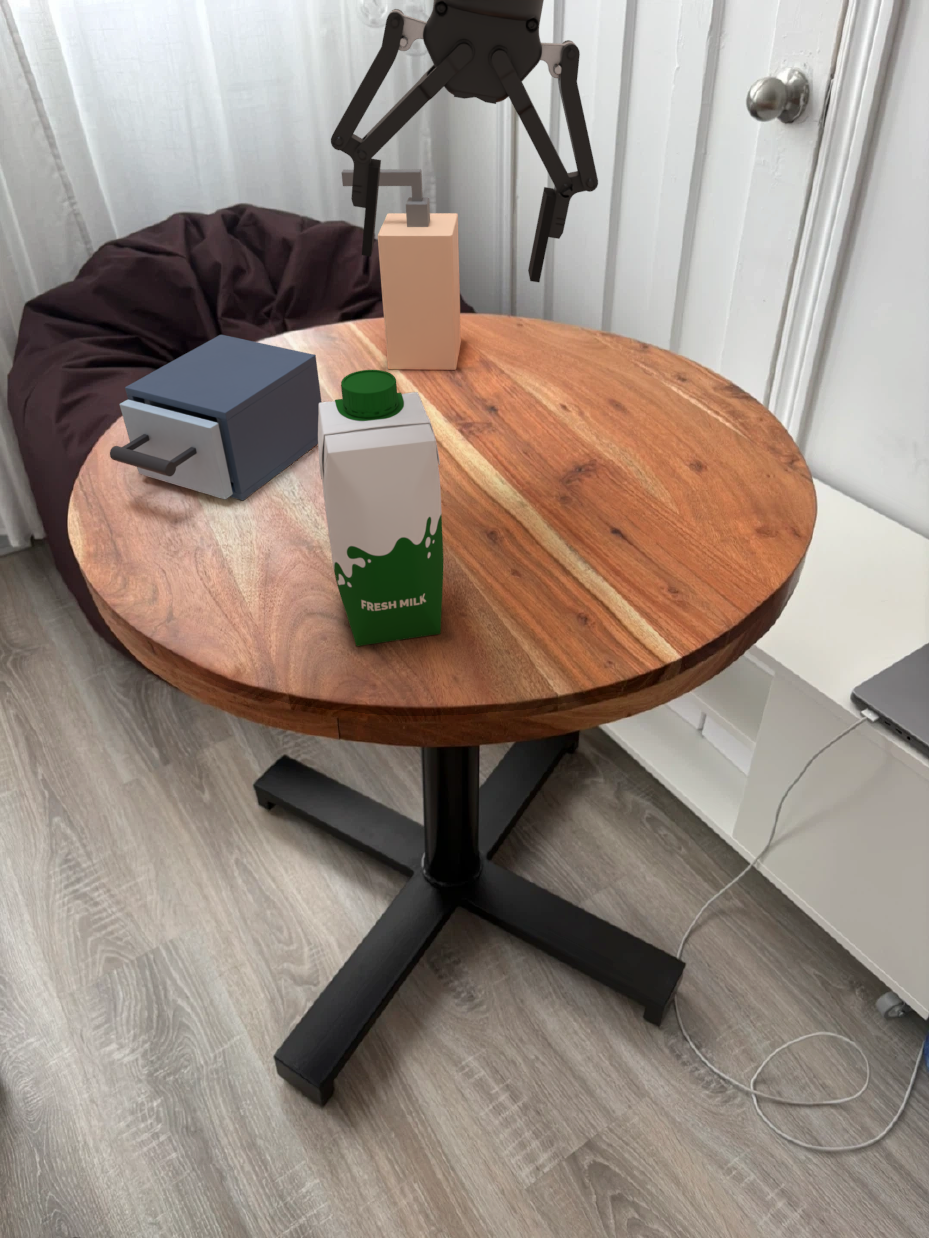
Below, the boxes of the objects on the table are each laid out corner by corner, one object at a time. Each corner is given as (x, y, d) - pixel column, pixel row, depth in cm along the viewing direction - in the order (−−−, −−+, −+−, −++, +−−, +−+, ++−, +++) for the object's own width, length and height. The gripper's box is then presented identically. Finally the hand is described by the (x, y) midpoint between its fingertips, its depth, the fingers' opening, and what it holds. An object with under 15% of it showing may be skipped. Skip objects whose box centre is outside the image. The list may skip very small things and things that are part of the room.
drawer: (194, 522, 87) (177, 449, 82) (106, 494, 92) (84, 423, 87) (306, 440, 100) (296, 372, 95) (223, 418, 104) (209, 352, 99)
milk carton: (434, 576, 82) (423, 361, 69) (454, 641, 75) (445, 415, 62) (335, 589, 80) (305, 373, 68) (346, 657, 73) (315, 430, 61)
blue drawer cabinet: (242, 501, 92) (225, 412, 86) (147, 472, 97) (124, 387, 91) (326, 437, 102) (315, 354, 96) (236, 414, 107) (220, 334, 100)
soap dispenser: (461, 342, 121) (456, 160, 107) (455, 370, 115) (450, 180, 101) (365, 341, 122) (348, 161, 108) (354, 369, 116) (335, 180, 102)
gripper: (666, -27, 66) (595, 272, 79) (316, -94, 63) (302, 226, 76) (687, -19, 60) (607, 302, 73) (302, -93, 58) (289, 254, 70)
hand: (451, 264), depth 75 cm, fingers open, 13 cm apart
